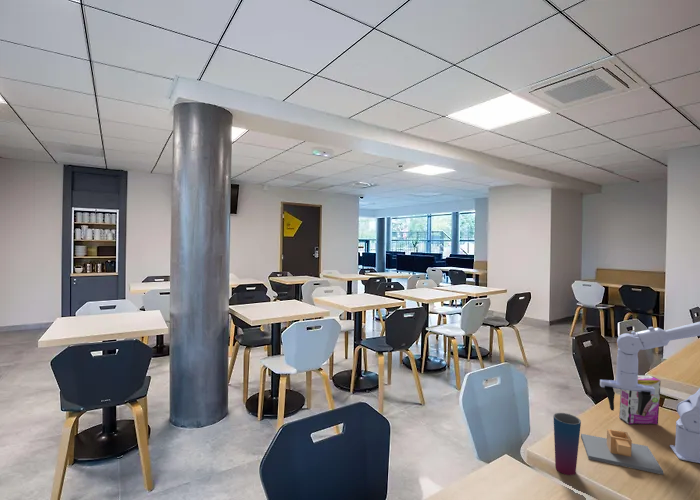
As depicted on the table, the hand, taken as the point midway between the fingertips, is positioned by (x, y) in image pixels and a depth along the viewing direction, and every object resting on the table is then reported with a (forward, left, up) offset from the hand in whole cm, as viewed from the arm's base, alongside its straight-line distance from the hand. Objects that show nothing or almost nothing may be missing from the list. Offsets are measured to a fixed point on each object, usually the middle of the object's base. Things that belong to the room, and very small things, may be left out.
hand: (625, 411), depth 124 cm
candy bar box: (-8, -17, -10) cm, 21 cm away
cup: (+20, +27, -10) cm, 35 cm away
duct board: (+4, +11, -9) cm, 15 cm away
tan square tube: (+4, +13, -8) cm, 16 cm away
